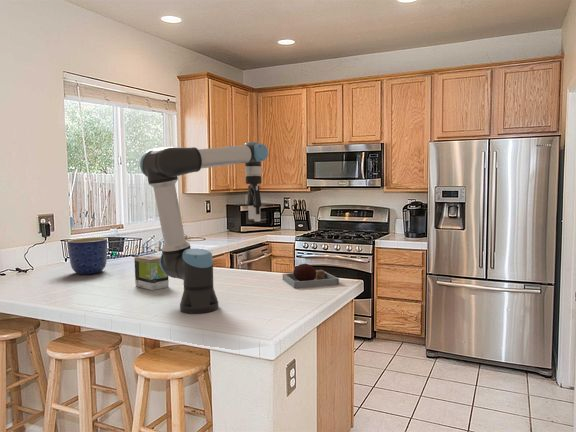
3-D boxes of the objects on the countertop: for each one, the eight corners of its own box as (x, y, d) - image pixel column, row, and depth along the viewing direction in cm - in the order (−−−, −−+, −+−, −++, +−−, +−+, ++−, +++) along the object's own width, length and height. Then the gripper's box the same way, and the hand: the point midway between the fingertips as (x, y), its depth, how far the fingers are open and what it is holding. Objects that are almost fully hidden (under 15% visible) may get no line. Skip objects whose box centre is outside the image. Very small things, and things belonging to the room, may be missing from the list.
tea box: (169, 287, 227) (168, 256, 225) (151, 291, 219) (149, 259, 218) (153, 282, 237) (151, 253, 236) (134, 286, 230) (133, 256, 228)
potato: (312, 285, 221) (311, 266, 221) (289, 283, 227) (289, 264, 226) (319, 281, 229) (319, 263, 228) (298, 279, 235) (297, 261, 234)
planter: (95, 268, 280) (94, 236, 278) (116, 271, 268) (114, 238, 266) (61, 274, 263) (60, 240, 262) (82, 278, 251) (80, 242, 250)
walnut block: (316, 279, 234) (316, 271, 233) (314, 278, 238) (314, 270, 237) (324, 279, 235) (324, 271, 235) (321, 277, 239) (321, 269, 238)
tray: (294, 289, 216) (294, 282, 216) (282, 280, 235) (282, 274, 235) (338, 285, 222) (338, 278, 222) (323, 277, 241) (323, 270, 241)
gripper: (267, 175, 211) (268, 222, 213) (255, 175, 235) (256, 217, 237) (251, 175, 209) (252, 222, 211) (240, 176, 233) (241, 218, 235)
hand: (254, 220), depth 224 cm, fingers open, 13 cm apart
